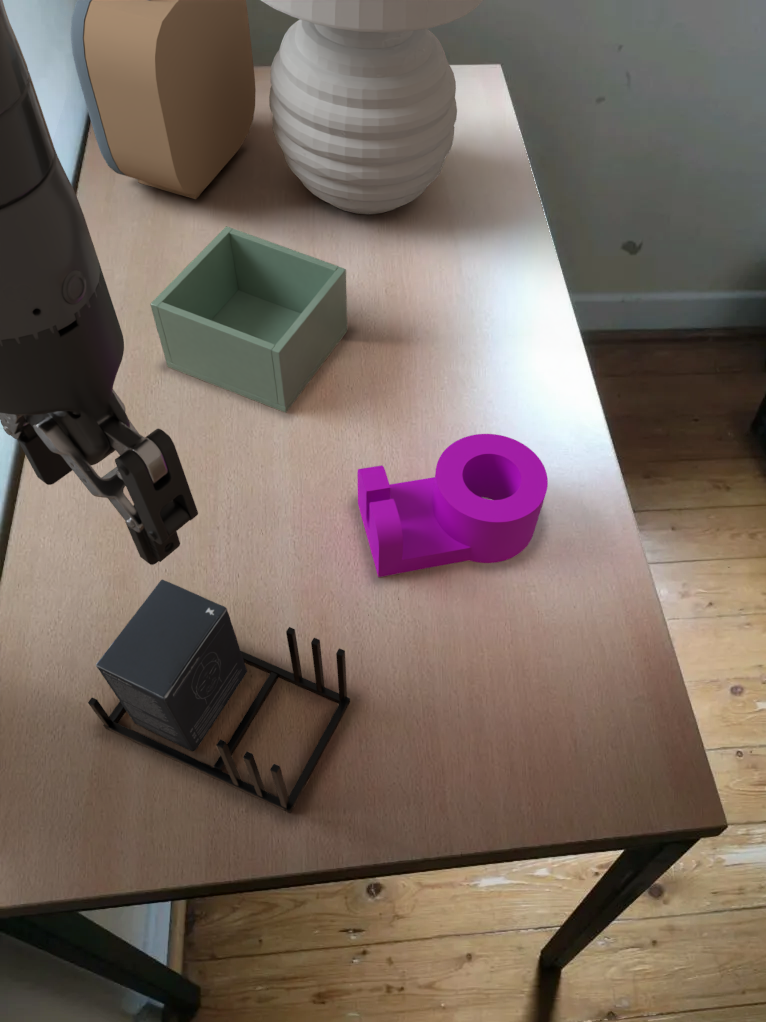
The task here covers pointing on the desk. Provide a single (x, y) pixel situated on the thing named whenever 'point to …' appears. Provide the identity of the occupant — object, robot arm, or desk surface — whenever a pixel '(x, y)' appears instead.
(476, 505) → the magenta mechanical bracket
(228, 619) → the box
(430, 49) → the table lamp
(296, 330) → the green storage bin
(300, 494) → the desk surface
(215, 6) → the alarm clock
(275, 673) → the rack
